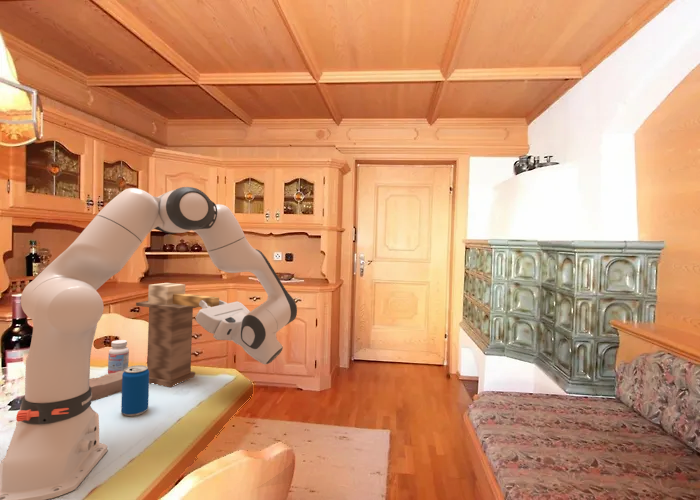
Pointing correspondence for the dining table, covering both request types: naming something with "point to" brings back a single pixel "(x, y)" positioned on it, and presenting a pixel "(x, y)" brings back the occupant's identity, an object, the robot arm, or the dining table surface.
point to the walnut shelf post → (169, 343)
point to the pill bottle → (118, 356)
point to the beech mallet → (177, 295)
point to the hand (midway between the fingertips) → (207, 300)
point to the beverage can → (135, 390)
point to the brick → (106, 385)
